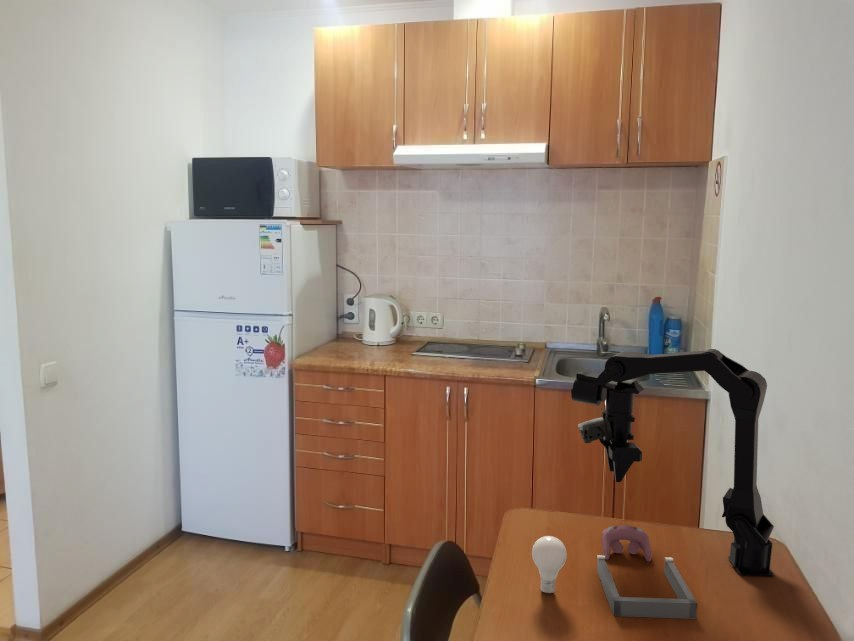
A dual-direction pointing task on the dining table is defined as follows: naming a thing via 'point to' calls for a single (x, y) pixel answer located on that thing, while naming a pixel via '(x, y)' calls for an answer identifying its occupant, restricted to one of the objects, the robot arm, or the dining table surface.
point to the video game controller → (625, 533)
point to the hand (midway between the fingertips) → (615, 476)
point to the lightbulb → (548, 560)
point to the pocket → (650, 606)
